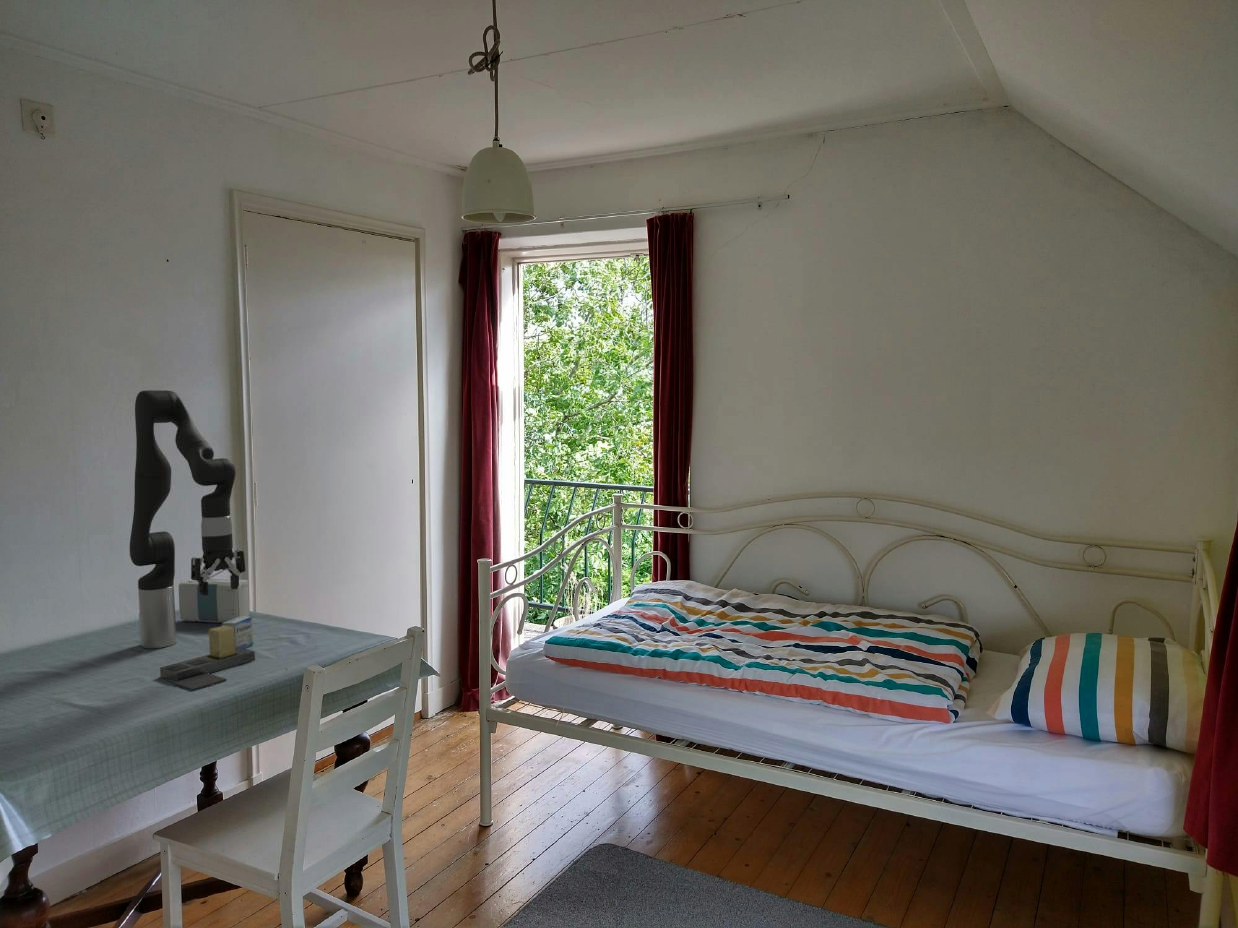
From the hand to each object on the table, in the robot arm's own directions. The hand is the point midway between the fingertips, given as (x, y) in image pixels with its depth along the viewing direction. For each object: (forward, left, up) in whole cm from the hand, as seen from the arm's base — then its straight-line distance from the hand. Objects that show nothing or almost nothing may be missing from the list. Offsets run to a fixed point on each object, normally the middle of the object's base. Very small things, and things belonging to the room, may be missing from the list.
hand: (219, 592), depth 234 cm
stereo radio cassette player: (-45, +26, -20) cm, 56 cm away
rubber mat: (+9, -12, -20) cm, 25 cm away
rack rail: (0, -4, -20) cm, 20 cm away
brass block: (0, 0, -20) cm, 20 cm away
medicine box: (-10, +11, -20) cm, 25 cm away
